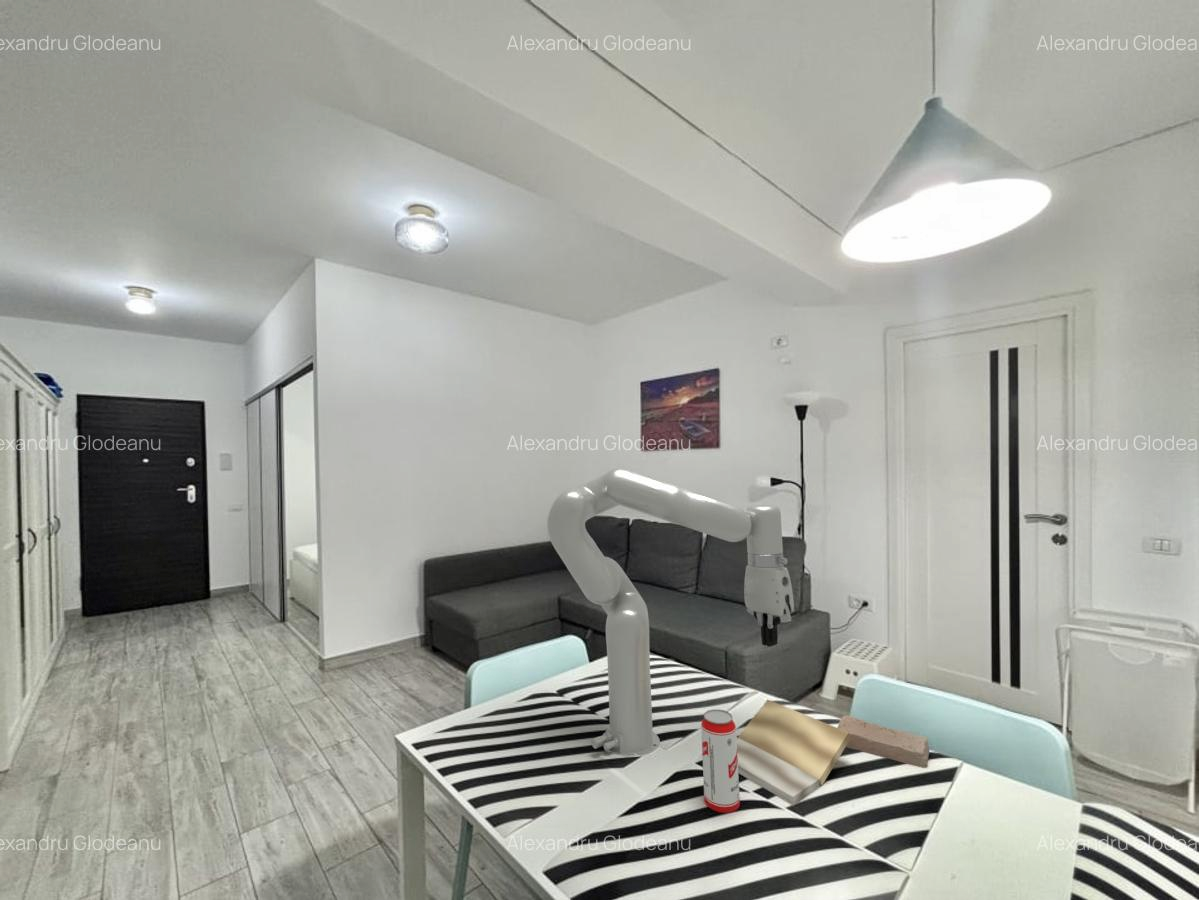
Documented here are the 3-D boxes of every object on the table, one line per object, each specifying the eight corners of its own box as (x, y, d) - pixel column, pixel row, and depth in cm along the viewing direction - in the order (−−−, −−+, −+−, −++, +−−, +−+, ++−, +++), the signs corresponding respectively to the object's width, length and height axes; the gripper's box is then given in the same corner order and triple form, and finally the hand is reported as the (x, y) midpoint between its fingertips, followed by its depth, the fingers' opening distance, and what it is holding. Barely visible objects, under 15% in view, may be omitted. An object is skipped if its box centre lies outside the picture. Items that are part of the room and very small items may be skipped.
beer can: (741, 799, 90) (736, 710, 91) (739, 822, 84) (734, 726, 85) (706, 793, 92) (702, 706, 93) (702, 815, 87) (698, 721, 88)
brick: (930, 756, 103) (928, 733, 103) (927, 776, 96) (925, 751, 96) (843, 734, 112) (842, 713, 113) (835, 751, 106) (834, 728, 106)
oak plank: (821, 785, 92) (819, 779, 92) (740, 742, 107) (737, 737, 107) (850, 738, 99) (848, 732, 98) (769, 704, 114) (767, 699, 114)
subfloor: (793, 815, 86) (792, 800, 86) (706, 763, 102) (706, 751, 102) (862, 765, 100) (862, 753, 100) (777, 726, 116) (776, 716, 116)
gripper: (805, 562, 106) (810, 649, 105) (748, 555, 118) (752, 633, 117) (785, 567, 101) (789, 658, 100) (727, 558, 114) (731, 639, 112)
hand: (769, 644), depth 108 cm, fingers closed
